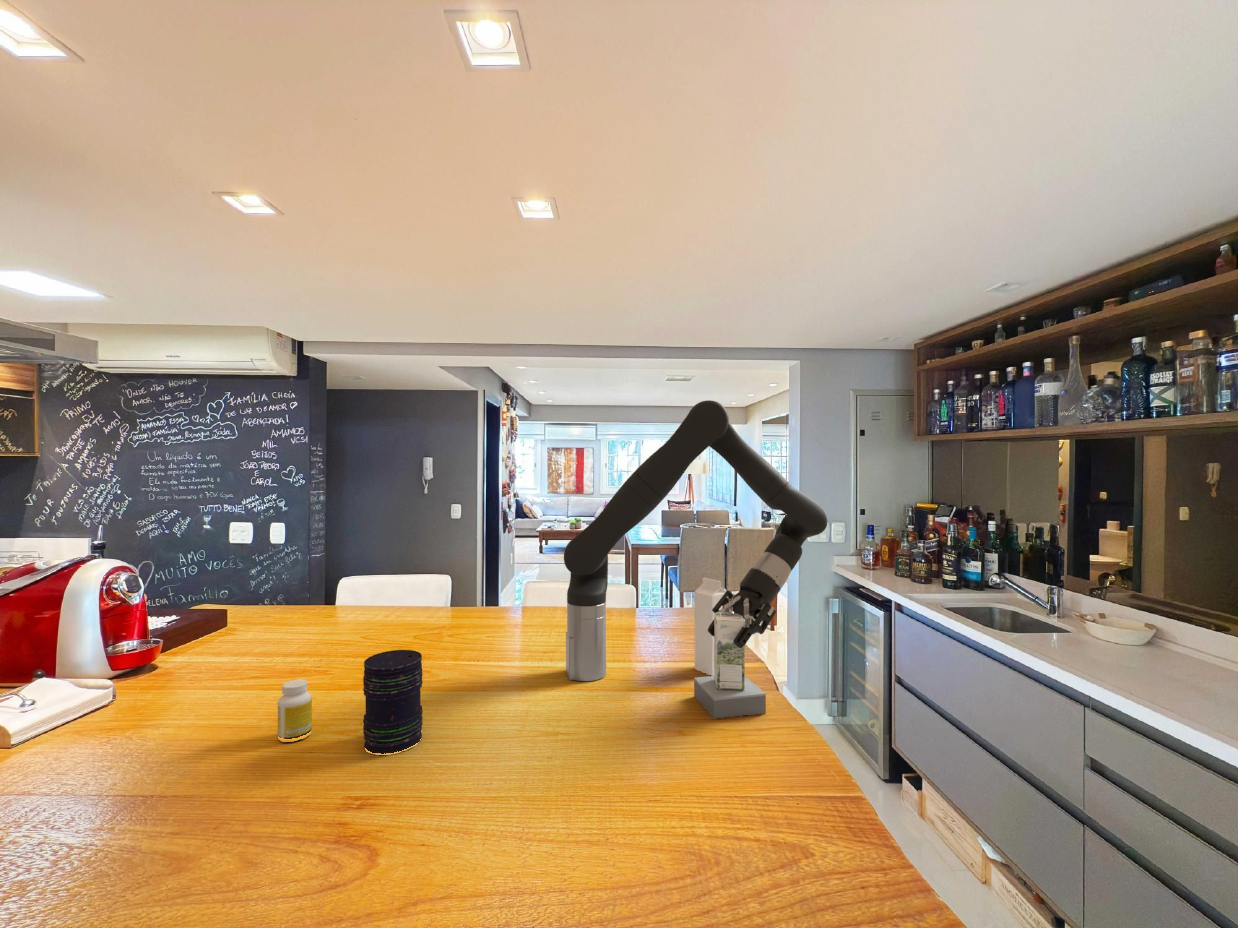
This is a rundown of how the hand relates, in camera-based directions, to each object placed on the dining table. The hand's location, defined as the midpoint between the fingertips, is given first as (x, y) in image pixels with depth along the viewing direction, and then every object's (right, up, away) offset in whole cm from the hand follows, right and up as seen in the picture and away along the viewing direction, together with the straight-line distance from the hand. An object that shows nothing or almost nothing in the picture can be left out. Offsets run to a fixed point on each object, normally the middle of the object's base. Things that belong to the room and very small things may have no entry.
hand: (723, 639), depth 114 cm
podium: (+1, -14, +1) cm, 14 cm away
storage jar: (-62, -14, -14) cm, 65 cm away
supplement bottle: (-81, -14, -12) cm, 83 cm away
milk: (+1, -14, +20) cm, 24 cm away
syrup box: (+1, -10, +1) cm, 10 cm away
